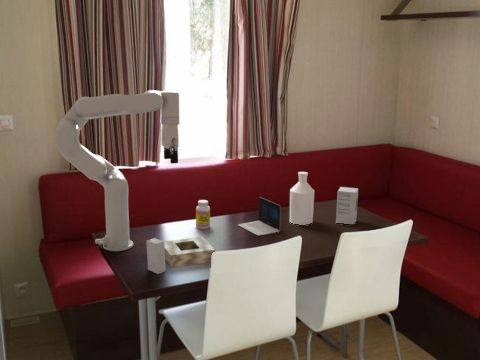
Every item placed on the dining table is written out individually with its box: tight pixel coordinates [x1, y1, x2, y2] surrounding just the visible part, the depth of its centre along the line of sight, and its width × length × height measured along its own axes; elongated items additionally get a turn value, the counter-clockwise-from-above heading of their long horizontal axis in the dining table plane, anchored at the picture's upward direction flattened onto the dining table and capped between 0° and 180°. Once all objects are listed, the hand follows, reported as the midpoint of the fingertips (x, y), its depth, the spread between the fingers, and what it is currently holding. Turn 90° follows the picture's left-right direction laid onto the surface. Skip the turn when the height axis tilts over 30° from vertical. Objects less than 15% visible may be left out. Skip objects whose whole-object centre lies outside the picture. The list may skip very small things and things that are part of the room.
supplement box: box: [335, 186, 359, 224], centre depth 263 cm, size 10×9×17 cm
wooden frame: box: [163, 236, 216, 268], centre depth 216 cm, size 18×16×5 cm
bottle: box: [289, 171, 315, 226], centre depth 261 cm, size 12×12×25 cm
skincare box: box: [145, 237, 167, 275], centre depth 202 cm, size 6×4×12 cm
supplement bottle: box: [195, 199, 211, 230], centre depth 253 cm, size 7×7×13 cm
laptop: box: [237, 196, 282, 236], centre depth 252 cm, size 18×12×13 cm
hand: (170, 160), depth 227 cm, fingers open, 9 cm apart
